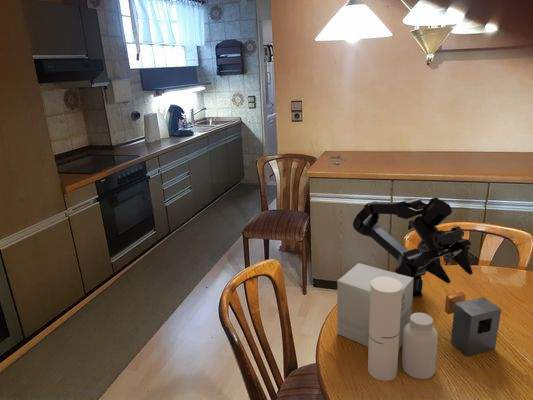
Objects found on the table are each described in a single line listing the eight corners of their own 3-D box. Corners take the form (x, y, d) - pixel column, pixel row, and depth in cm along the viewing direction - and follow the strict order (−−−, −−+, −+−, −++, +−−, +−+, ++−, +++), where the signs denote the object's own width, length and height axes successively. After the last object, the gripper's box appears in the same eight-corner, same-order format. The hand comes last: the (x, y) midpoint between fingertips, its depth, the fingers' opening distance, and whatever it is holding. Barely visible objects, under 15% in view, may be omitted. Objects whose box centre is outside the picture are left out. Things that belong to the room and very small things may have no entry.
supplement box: (411, 332, 114) (415, 277, 108) (393, 359, 104) (396, 299, 98) (357, 312, 124) (358, 261, 119) (335, 334, 115) (335, 280, 109)
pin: (444, 311, 113) (446, 295, 111) (460, 307, 114) (462, 292, 112) (465, 328, 105) (467, 311, 103) (481, 324, 106) (484, 307, 105)
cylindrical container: (398, 382, 96) (404, 293, 88) (368, 379, 98) (371, 291, 90) (395, 361, 103) (400, 277, 95) (367, 359, 104) (370, 275, 96)
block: (450, 342, 109) (455, 303, 105) (478, 335, 111) (483, 297, 107) (466, 356, 103) (471, 316, 99) (495, 349, 105) (501, 309, 101)
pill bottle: (407, 353, 106) (411, 305, 101) (439, 366, 101) (444, 316, 96) (396, 371, 100) (399, 321, 95) (428, 385, 95) (433, 333, 90)
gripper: (421, 226, 111) (455, 275, 104) (466, 212, 119) (501, 257, 111) (401, 245, 120) (431, 292, 112) (444, 232, 127) (475, 274, 120)
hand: (460, 278), depth 114 cm, fingers open, 9 cm apart
